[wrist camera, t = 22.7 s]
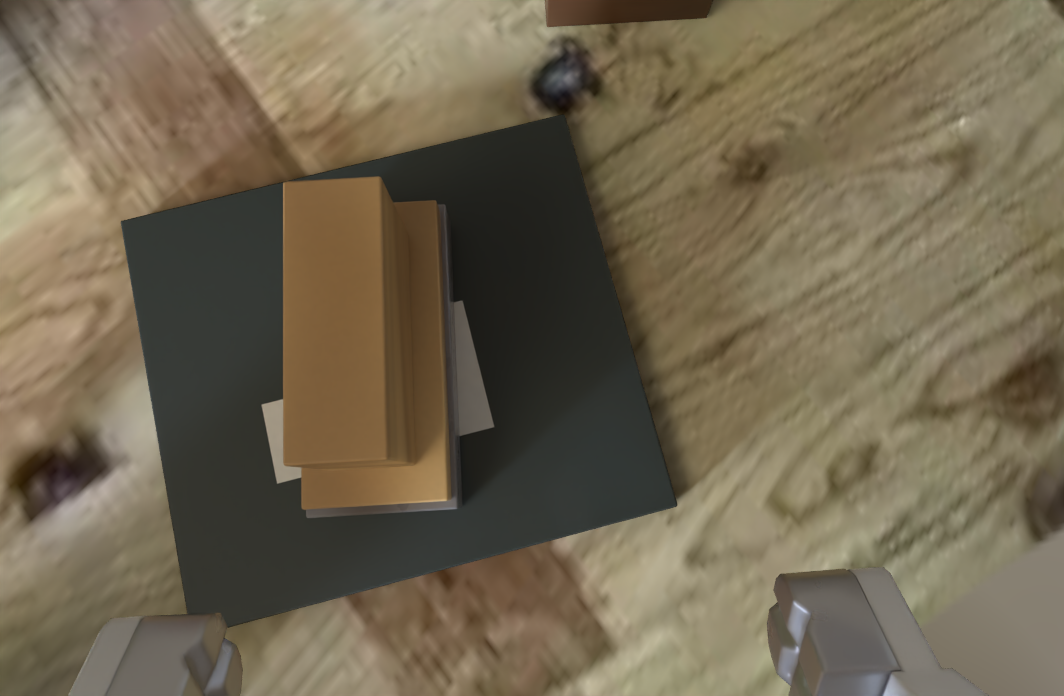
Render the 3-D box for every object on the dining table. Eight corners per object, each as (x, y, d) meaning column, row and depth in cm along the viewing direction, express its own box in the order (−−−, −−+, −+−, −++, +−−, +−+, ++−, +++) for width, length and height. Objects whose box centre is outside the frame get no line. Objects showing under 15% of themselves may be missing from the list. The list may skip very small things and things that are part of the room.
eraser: (450, 220, 30) (421, 123, 22) (463, 507, 28) (436, 514, 20) (317, 228, 30) (240, 133, 22) (319, 516, 28) (235, 527, 20)
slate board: (563, 122, 31) (564, 113, 30) (674, 505, 28) (678, 506, 28) (130, 227, 30) (119, 220, 30) (200, 633, 28) (190, 637, 27)
